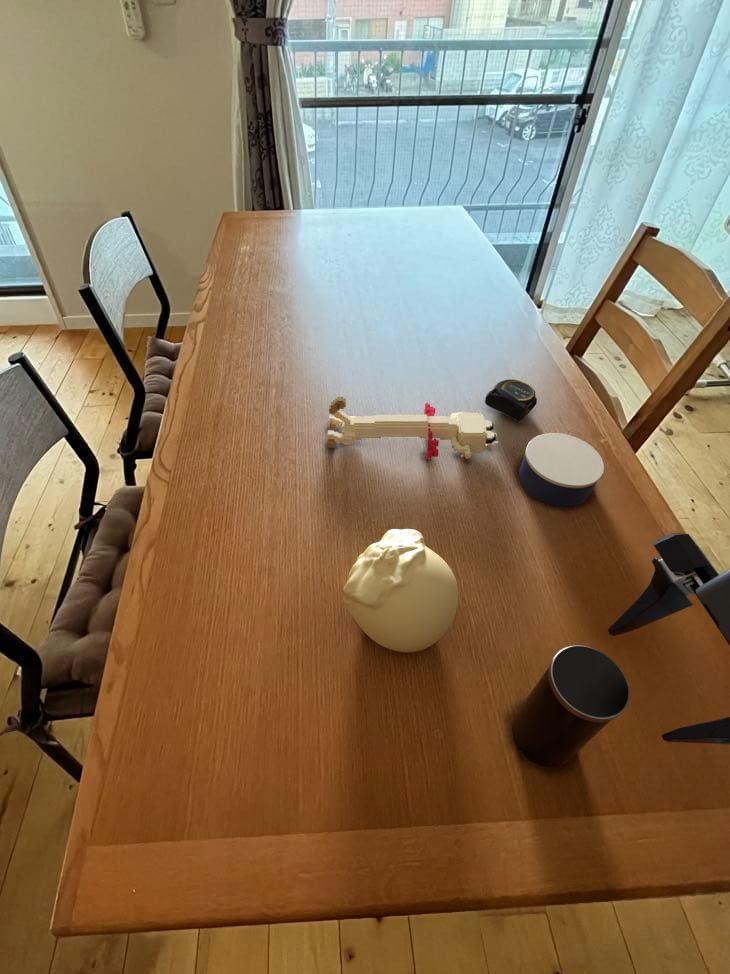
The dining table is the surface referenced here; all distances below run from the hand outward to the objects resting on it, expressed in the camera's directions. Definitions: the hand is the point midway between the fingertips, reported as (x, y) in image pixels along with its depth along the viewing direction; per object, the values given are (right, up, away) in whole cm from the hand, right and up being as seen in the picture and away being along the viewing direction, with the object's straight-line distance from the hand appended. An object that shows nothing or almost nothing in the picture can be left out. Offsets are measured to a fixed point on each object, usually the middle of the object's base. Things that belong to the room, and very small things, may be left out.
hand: (635, 682), depth 47 cm
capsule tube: (-5, -8, +8) cm, 12 cm away
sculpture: (-18, +1, +17) cm, 25 cm away
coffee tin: (+6, +17, +32) cm, 37 cm away
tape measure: (+3, +28, +43) cm, 51 cm away
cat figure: (-13, +23, +37) cm, 45 cm away
